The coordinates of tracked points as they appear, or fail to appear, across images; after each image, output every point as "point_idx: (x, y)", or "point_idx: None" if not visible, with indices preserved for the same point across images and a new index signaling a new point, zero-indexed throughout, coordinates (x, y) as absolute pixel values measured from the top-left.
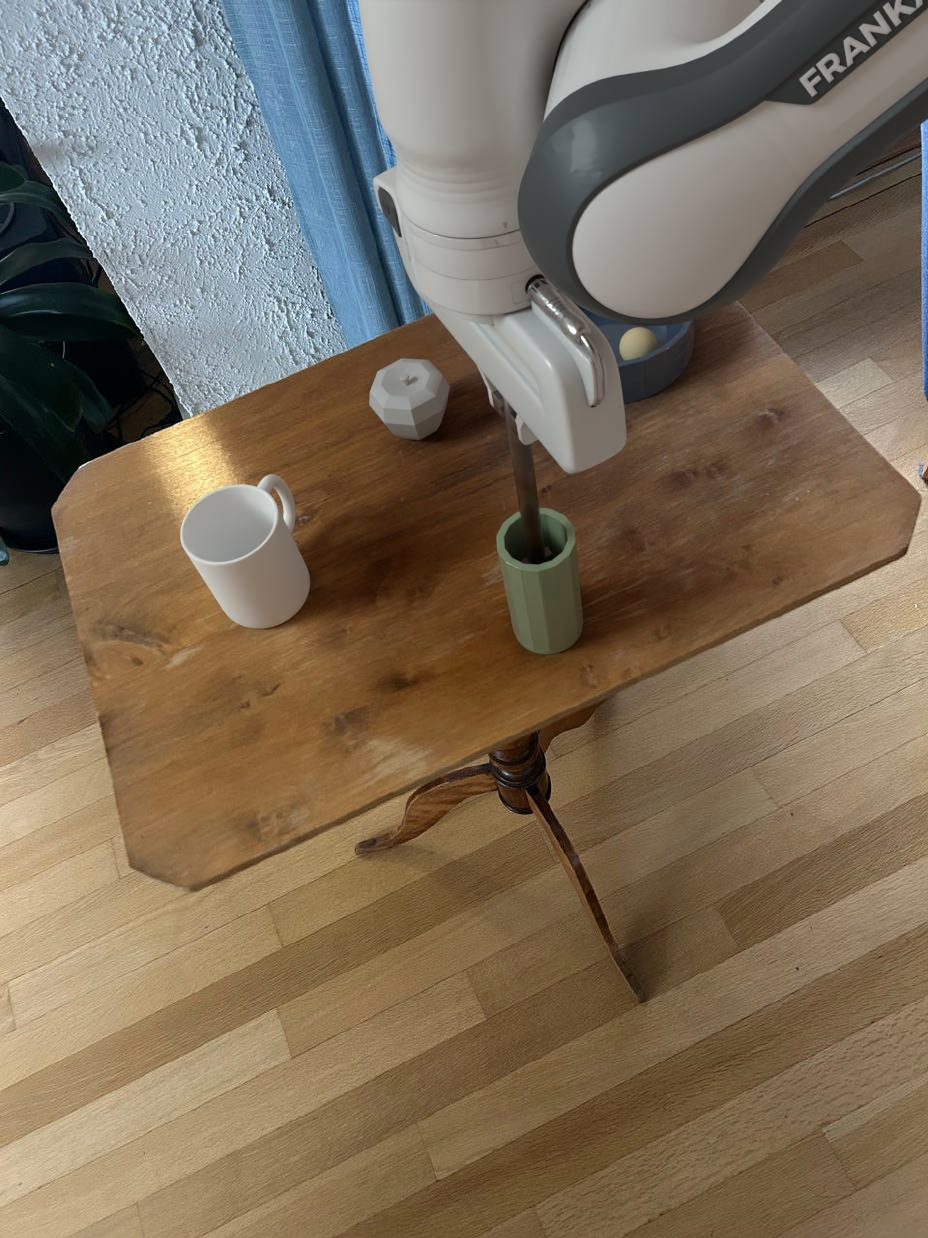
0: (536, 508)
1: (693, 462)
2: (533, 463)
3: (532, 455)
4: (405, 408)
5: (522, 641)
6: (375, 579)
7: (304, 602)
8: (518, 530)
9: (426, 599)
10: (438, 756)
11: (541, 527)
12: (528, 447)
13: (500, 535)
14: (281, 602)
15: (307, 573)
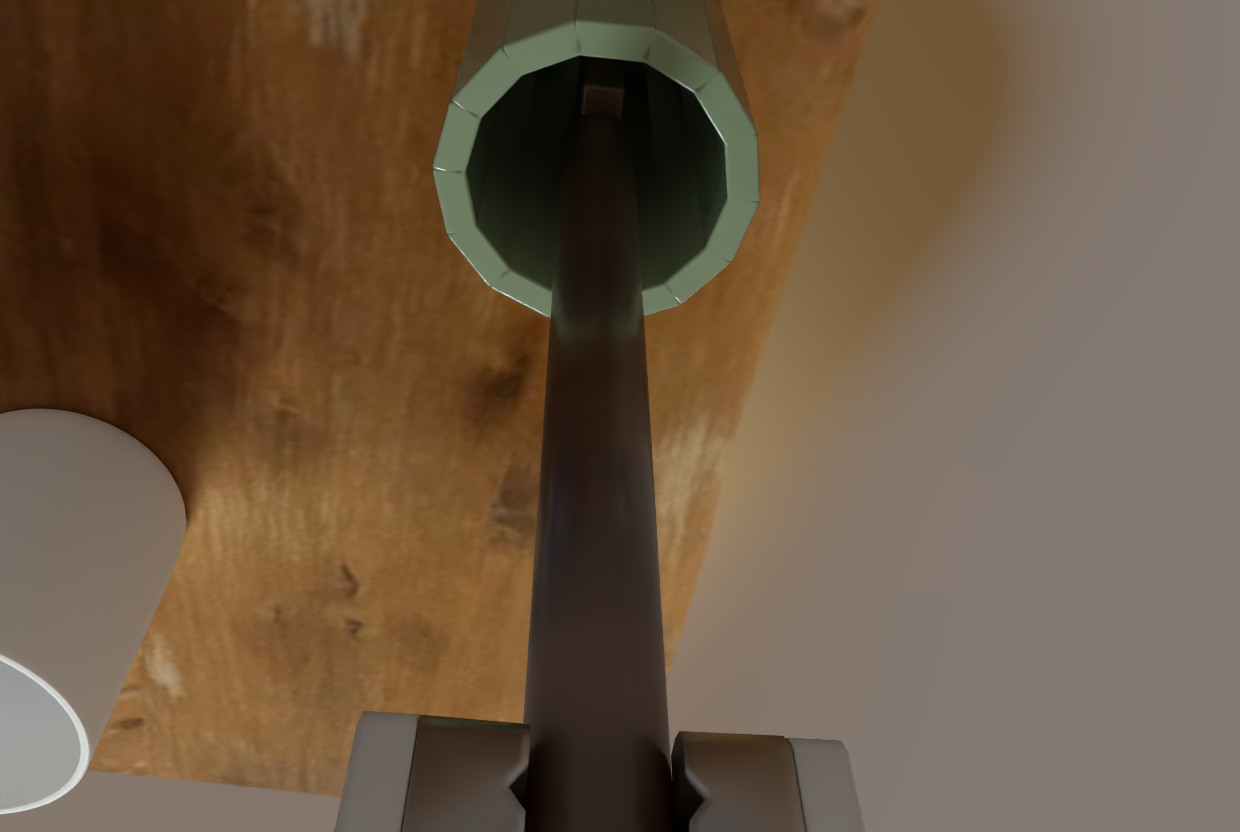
0: (641, 302)
1: None
2: (635, 463)
3: (640, 510)
4: None
5: None
6: (162, 286)
7: (150, 452)
8: (475, 159)
9: (304, 216)
10: (727, 412)
11: (626, 207)
12: (658, 604)
13: (496, 274)
14: (161, 545)
15: (78, 439)
